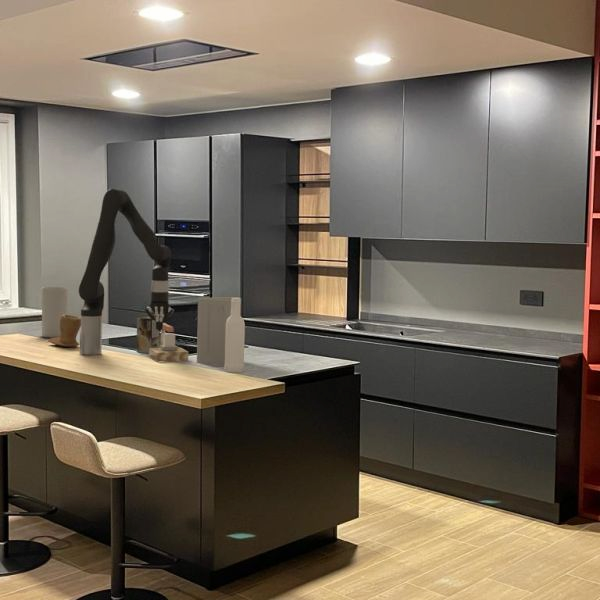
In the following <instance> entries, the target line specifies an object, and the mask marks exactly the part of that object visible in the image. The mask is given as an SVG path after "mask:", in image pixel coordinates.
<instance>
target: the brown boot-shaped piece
mask: <svg viewBox="0 0 600 600" xmlns="http://www.w3.org/2000/svg"><path fill="white" fill-rule="evenodd" d="M80 330H81V316H75V315H71V314H70V315H69V314H67V315H62V316H61V319H60V333H61V335H60V337H59V338H58V337H57V338H49V339H48V341H47V342H48V343H50V344H53V345H55V346H60V347H66V348H67V347H70V348H71V347H77V346H80V342H78V341H77V336H78V334H79V333H80Z"/></svg>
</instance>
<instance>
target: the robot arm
mask: <svg viewBox="0 0 600 600" xmlns="http://www.w3.org/2000/svg"><path fill="white" fill-rule="evenodd" d="M118 212H119V213H120V214H122V215H123V216H124V218H125V219H126V220H127V222H128V223H129V226H130V228H131V231H132V232H133V233H134V235H135V237H137V239H138V241H140V243H141V244H142V245H143V248H144V250H145V251H146V253H147V255H148V257H149V258H151V260H153V261H154V262H156V263H155V266H154V267H152V269H151V285H150V287H151V289H150V290H151V291H150V304H149V306H148V307H147V308H145V312H146V313H147V315H148V317H150V318H151V319H152V320H154V321H156V329H157V330H160V331H161V329H162V328H163V323H164V321H165V322H166V321H167V320H168V319H169V317H171V316H172V315H173V313H174V312H175V309H173V308H172V307H171V305H170V303H169V299H170V298H169V294H170V293H169V291H170V289H169V269H170V265H171V260H172V252H171V248H170V247H169V246H167V245H163V244H159V242H158V241H157V240H158V237H157V235H156V233H155V232H154V231H153V229H152V228H151V227H150V226H149V224H148V223H147V222H146V221H145V220H144V217H142V216H141V214H140V213H139V211H138V210H137V208H136V206H135V205H134V202H133V201H132V199H131V197H130V196H129V194H128V193H127V192H126V191H125V190H122V189H117V188H110V189H108V190H107V191H106V192H105V193H104V195H103V199H102V203H101V210H100V216H99V220H98V223H97V227H96V231H95V235H94V236H93V240H92V245H91V248H90V252H89V256H88V259H87V263H86V268H85V271H84V274H83V276H82V279H81V280H80V281H81V282H80V284H79V286H78V294H79V297H80V299H81V300H83V306H82V308H81V310H80V318H81V327H80V331H79V353H80V354H81V355H85V356H86V355H88V356H91V355H95V356H96V355H101V354H102V339H103V338H102V337H103V336H102V335H103V311H104V308H105V307H104V306H105V305H104V304H105V287H104V284H103V283H102V282H101V275H102V273H103V270H104V269H105V268H106V266H107V264H108V262H109V261H110V259H111V256H112V255H113V251H114V248H115V243H116V230H115V229H116V228H115V223H116V218H117V215H118ZM152 311H153V313H154V314H153V313H152ZM166 312H167V314H166ZM165 314H166V316H165ZM159 318H160V322H159Z"/></svg>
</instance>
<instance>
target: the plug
mask: <svg viewBox="0 0 600 600" xmlns="http://www.w3.org/2000/svg"><path fill="white" fill-rule="evenodd" d="M178 347H179V346H178V345H176V334H175V333H165V334H163V345H160V347H159V348H160V349H162V350H163V351H175V350H178Z"/></svg>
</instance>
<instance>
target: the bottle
mask: <svg viewBox="0 0 600 600" xmlns="http://www.w3.org/2000/svg"><path fill="white" fill-rule="evenodd" d="M240 298H241V297H238V298H232V299H231V316H230V317H229V318H228V319H227V321H226V337H225V366H224V372H225V373H226V372H227V373H233V374H234V373H243V372H244V371H245V335H246V334H245V331H246V327H245V326H246V322H245V320H244V318H243V317H242V315H241V316H240V303H241V304H242V300H241V301H240Z"/></svg>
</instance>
